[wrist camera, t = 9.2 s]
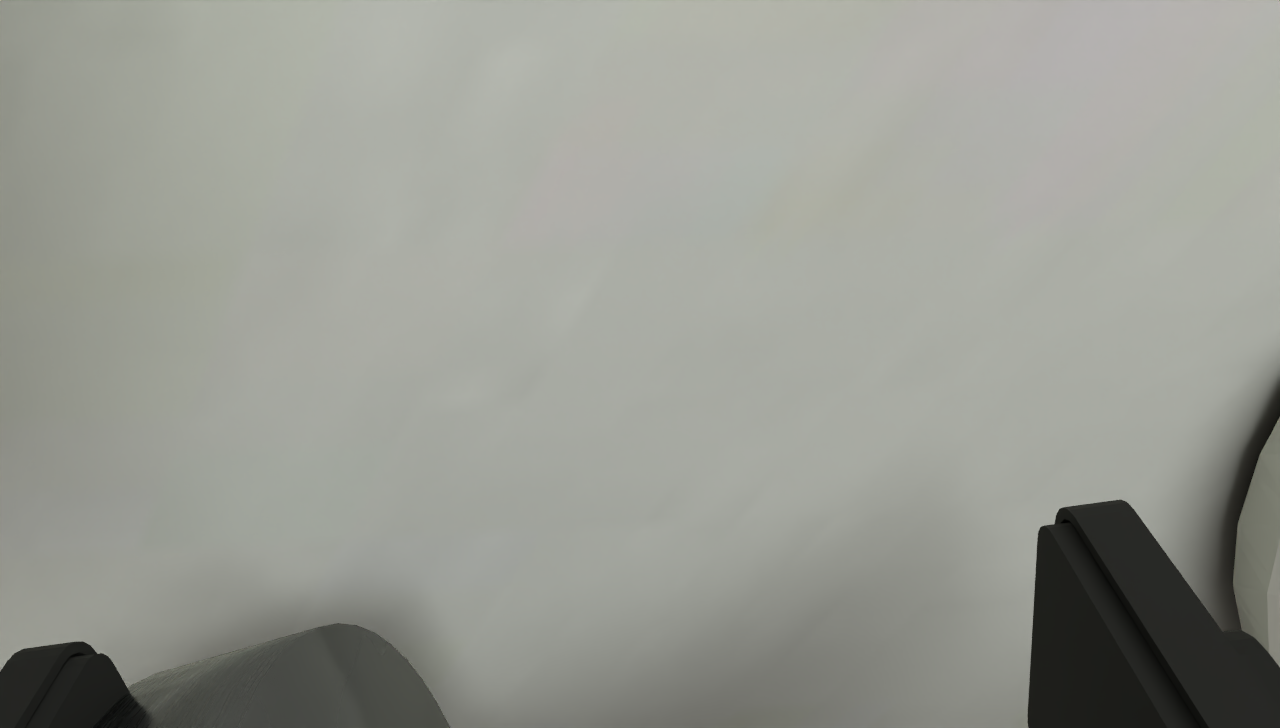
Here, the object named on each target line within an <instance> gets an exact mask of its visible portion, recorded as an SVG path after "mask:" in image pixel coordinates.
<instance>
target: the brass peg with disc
mask: <svg viewBox="0 0 1280 728" xmlns="http://www.w3.org/2000/svg"><path fill="white" fill-rule="evenodd" d="M128 690H129V693H128V694H126V695H125V696H124V697H122V698H121V699H120V700H118V701H117V702H116V703H115V704H114V705H113V706H112V707H111V708H110V709H109V710H108V711H107V712H106V714H105V715H104V716H103V717H102V718H101V719H100V720H99V721H98V722H97V723H96V724H95V725H94V726H93V727H92V728H450V727H449V725H448V723H447V721H446V719H445V717H444V715H443V713H442V711H441V709H440V708H439V706H438V704H437V702H436V700H435V699H434V697H433V696H432V694H431V692H430V691H429V689H428V688H427V686H426V685H425V683H424V681H423V680H422V678H421V677H420V676H419V675H418V673H417V672H416V671H415V670H414V668H413V667H412V666H411V664H410V663H409V662H408V661H407V660H406V659H405V658H404V657H403V656H402V655H401V654H400V653H399V652H398V651H397V650H396V649H395V648H394V647H393V646H392V645H391V644H390V643H388V642H387V641H385V640H384V639H383V638H381V637H380V636H378V635H377V634H375V633H374V632H371V631H369V630H366V629H364V628H362V627H359V626H357V625H348V624H339V623H338V624H333V625H328V626H323V627H318V628H315V629H311V630H308V631H304V632H301V633H297V634H294V635H290V636H286V637H283V638H279V639H276V640H272V641H269V642H265V643H262V644H258V645H255V646H251V647H248V648H244V649H241V650H237V651H234V652H230V653H227V654H223V655H219V656H216V657H212V658H209V659H205V660H202V661H198V662H195V663H191V664H188V665H184V666H181V667H177V668H174V669H170V670H167V671H163V672H159V673H157V674H155V675H152V676H150V677H148V678H146V679H144V680H142V681H140V682H137V683H135V684H133V685H131V686H130V687H128Z"/></svg>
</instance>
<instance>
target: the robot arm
mask: <svg viewBox="0 0 1280 728" xmlns="http://www.w3.org/2000/svg"><path fill="white" fill-rule="evenodd" d="M1233 588H1234V593H1235V598H1236V603H1237V608H1238V614H1239V619H1240V624H1241V629H1242V630H1236V631H1224V632H1222V630H1221V629H1220V628H1219V626H1218V625H1217V624H1216V622H1215V621H1214V619H1213V618H1212V617H1211V615H1210V614H1209V613H1208V611H1207V610H1206V608H1205V607H1204V606H1203V604H1202V603H1201V602H1200V600H1199V599H1198V597H1197V596H1196V595H1195V593H1194V592H1193V590H1192V589H1191V588H1190V586H1189V585H1188V584H1187V582H1186V581H1185V579H1184V578H1183V577H1182V575H1181V574H1180V573H1179V571H1178V570H1177V568H1176V567H1175V566H1174V564H1173V563H1172V562H1171V560H1170V559H1169V557H1168V556H1167V555H1166V553H1165V552H1164V550H1163V549H1162V548H1161V546H1160V545H1159V544H1158V542H1157V541H1156V539H1155V538H1154V537H1153V535H1152V534H1151V533H1150V531H1149V530H1148V528H1147V527H1146V526H1145V524H1144V523H1143V522H1142V520H1141V519H1140V517H1139V516H1138V515H1137V513H1136V512H1135V510H1134V509H1133V508H1132V507H1131V506H1130V505H1129V504H1128V503H1127V502H1125V501H1123V500H1115V501H1108V502H1100V503H1093V504H1086V505H1078V506H1071V507H1064V508H1061V509H1059V511H1058V513H1057V515H1056V520H1055V524H1054V525H1047V526H1042V527H1041V528H1040V530H1039V533H1038V542H1037V560H1036V578H1035V596H1034V613H1033V631H1032V649H1031V667H1030V685H1029V702H1028V727H1029V728H1280V418H1279V420H1278V421H1277V423H1276V425H1275V427H1274V429H1273V431H1272V433H1271V435H1270V436H1269V438H1268V440H1267V442H1266V444H1265V446H1264V448H1263V450H1262V451H1261V453H1260V455H1259V459H1258V462H1257V465H1256V468H1255V471H1254V474H1253V477H1252V481H1251V484H1250V487H1249V490H1248V493H1247V496H1246V500H1245V503H1244V506H1243V509H1242V512H1241V515H1240V518H1239V522H1238V528H1237V540H1236V552H1235V564H1234V577H1233ZM128 693H129V690H128V688H127V687H126V685H125V683H124V681H123V680H122V678H121V676H120V674H119V672H118V671H117V669H116V667H115V665H114V664H113V662H112V661H111V660H110V658H109V657H108V656H106V655H104V654H97V653H96V652H95V650H94V649H93V648H92V647H91V646H90V645H88V644H87V643H85V642H70V643H63V644H56V645H49V646H41V647H34V648H27V649H22V650H20V651H19V652H17V653H15V654H14V655H13V656H12V657H11V658H10V659H9V660H8V661H7V663H6V664H5V666H4V667H3V669H2V670H1V672H0V728H92V727H93V726H94V725H95V724H96V723H97V722H98V721H99V720H100V719H101V718H102V717H103V716H104V715H105V714H106V712H107V711H108V710H109V709H110V708H111V707H112V706H113V705H114V704H115V703H116V702H117V701H118V700H120V699H121V698H122V697H124V696H125V695H126V694H128Z"/></svg>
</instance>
